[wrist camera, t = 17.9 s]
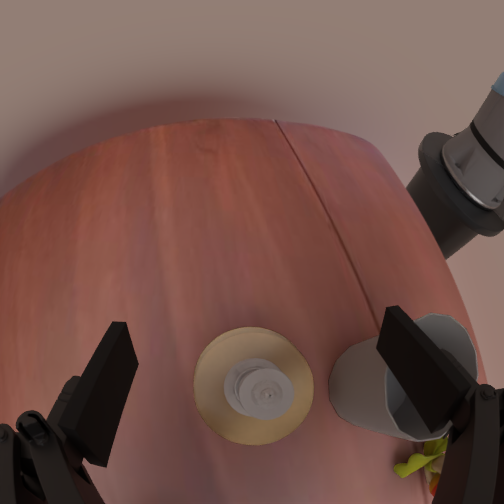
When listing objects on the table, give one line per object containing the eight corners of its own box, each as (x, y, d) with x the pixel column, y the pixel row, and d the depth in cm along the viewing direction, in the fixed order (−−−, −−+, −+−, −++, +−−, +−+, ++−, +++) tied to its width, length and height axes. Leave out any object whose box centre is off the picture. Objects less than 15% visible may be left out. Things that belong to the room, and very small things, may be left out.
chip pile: (326, 370, 22) (338, 369, 19) (263, 455, 18) (267, 465, 16) (239, 310, 24) (239, 301, 21) (173, 392, 21) (164, 393, 18)
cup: (347, 327, 24) (404, 294, 15) (414, 353, 23) (484, 331, 14) (314, 413, 20) (363, 431, 11) (389, 433, 19) (458, 446, 10)
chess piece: (225, 357, 19) (214, 339, 10) (284, 359, 20) (323, 341, 11) (223, 413, 18) (210, 445, 9) (283, 414, 18) (322, 443, 9)
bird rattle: (437, 454, 19) (432, 410, 19) (503, 485, 8) (519, 443, 8) (398, 491, 17) (386, 455, 17) (461, 534, 7) (471, 508, 6)
